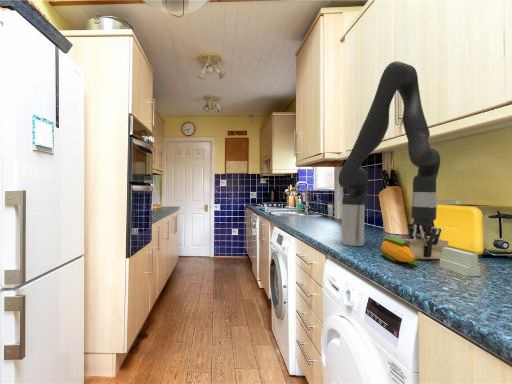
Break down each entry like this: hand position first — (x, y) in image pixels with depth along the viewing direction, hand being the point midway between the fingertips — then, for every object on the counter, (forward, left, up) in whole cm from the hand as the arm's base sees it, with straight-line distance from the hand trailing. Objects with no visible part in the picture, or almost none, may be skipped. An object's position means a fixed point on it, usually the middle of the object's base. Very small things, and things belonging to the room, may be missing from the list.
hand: (422, 255), depth 102 cm
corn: (+3, -10, -2) cm, 11 cm away
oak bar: (0, +1, -1) cm, 1 cm away
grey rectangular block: (+15, 0, -1) cm, 15 cm away
